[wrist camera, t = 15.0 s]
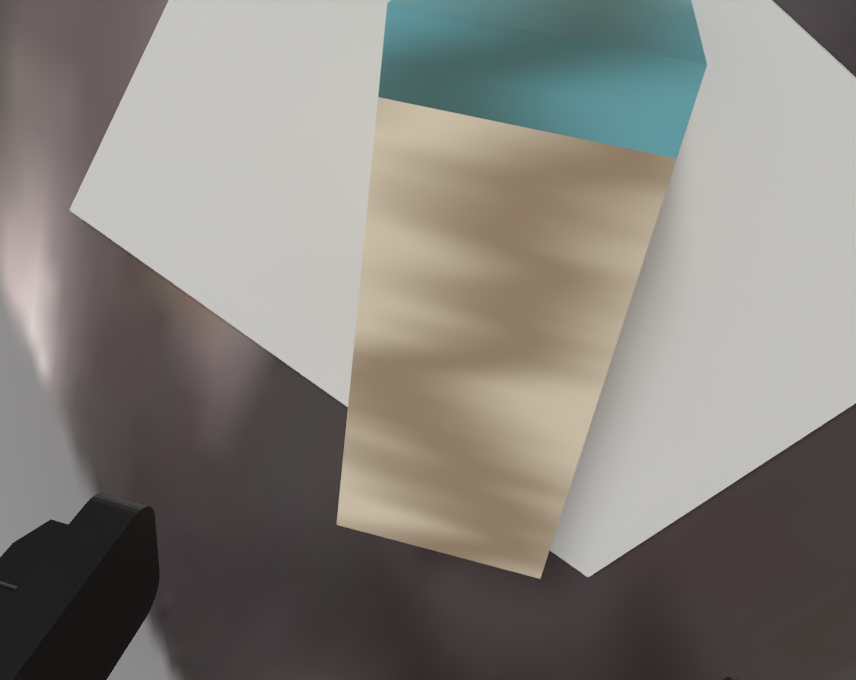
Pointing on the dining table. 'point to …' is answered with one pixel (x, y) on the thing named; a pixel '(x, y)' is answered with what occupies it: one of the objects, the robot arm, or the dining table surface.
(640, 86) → the beige tall box
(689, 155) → the grey mat
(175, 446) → the dining table surface
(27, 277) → the dining table surface
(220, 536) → the dining table surface
